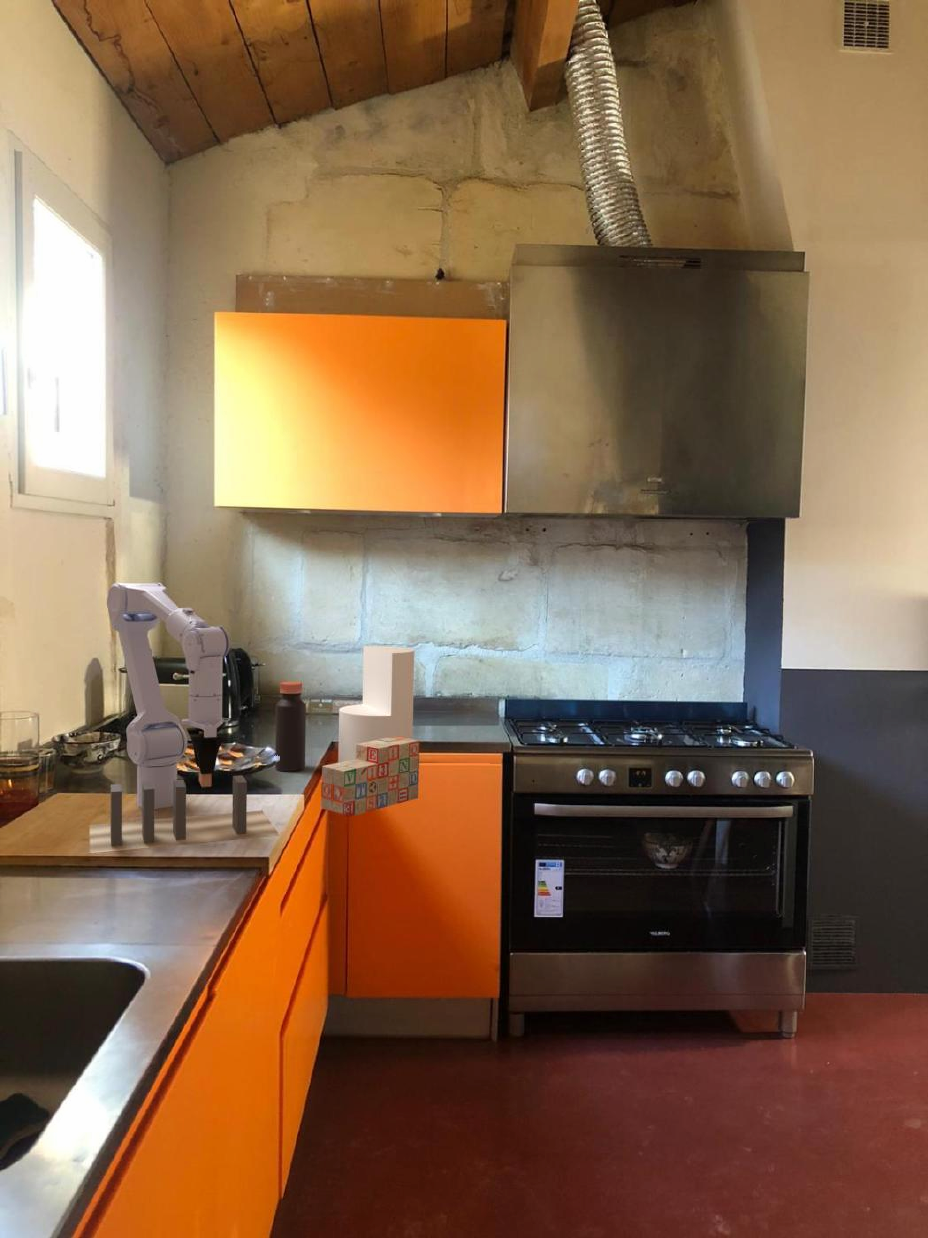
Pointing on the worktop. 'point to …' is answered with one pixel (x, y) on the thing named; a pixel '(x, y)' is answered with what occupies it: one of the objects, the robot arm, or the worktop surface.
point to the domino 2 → (148, 812)
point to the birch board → (196, 832)
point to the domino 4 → (204, 777)
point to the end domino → (239, 804)
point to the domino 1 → (116, 815)
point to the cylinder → (380, 700)
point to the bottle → (290, 728)
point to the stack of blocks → (372, 777)
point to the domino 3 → (179, 809)
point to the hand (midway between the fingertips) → (204, 770)
